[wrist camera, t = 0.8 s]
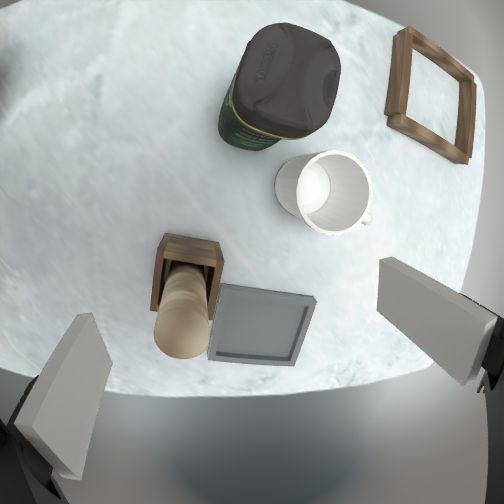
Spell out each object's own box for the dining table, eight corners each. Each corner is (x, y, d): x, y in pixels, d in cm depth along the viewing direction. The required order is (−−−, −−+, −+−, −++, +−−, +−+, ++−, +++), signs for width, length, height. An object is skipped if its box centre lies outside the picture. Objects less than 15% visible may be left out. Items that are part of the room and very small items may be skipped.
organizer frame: (382, 123, 37) (396, 121, 34) (394, 29, 33) (405, 23, 30) (457, 165, 42) (470, 166, 39) (464, 80, 37) (476, 78, 34)
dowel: (168, 278, 37) (152, 354, 21) (173, 247, 36) (156, 307, 20) (201, 284, 38) (205, 362, 22) (206, 253, 37) (214, 316, 21)
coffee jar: (270, 157, 36) (333, 149, 19) (211, 141, 35) (223, 114, 17) (289, 91, 34) (358, 41, 17) (232, 74, 32) (261, 2, 15)
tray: (207, 353, 43) (207, 360, 41) (221, 283, 40) (222, 288, 38) (290, 360, 46) (294, 366, 44) (312, 296, 43) (317, 301, 41)
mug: (258, 197, 38) (279, 207, 28) (293, 140, 36) (325, 132, 27) (322, 237, 41) (358, 258, 31) (353, 185, 39) (396, 192, 30)
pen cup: (158, 283, 38) (149, 310, 31) (165, 233, 37) (157, 249, 29) (209, 292, 40) (212, 320, 32) (219, 242, 38) (224, 261, 31)
